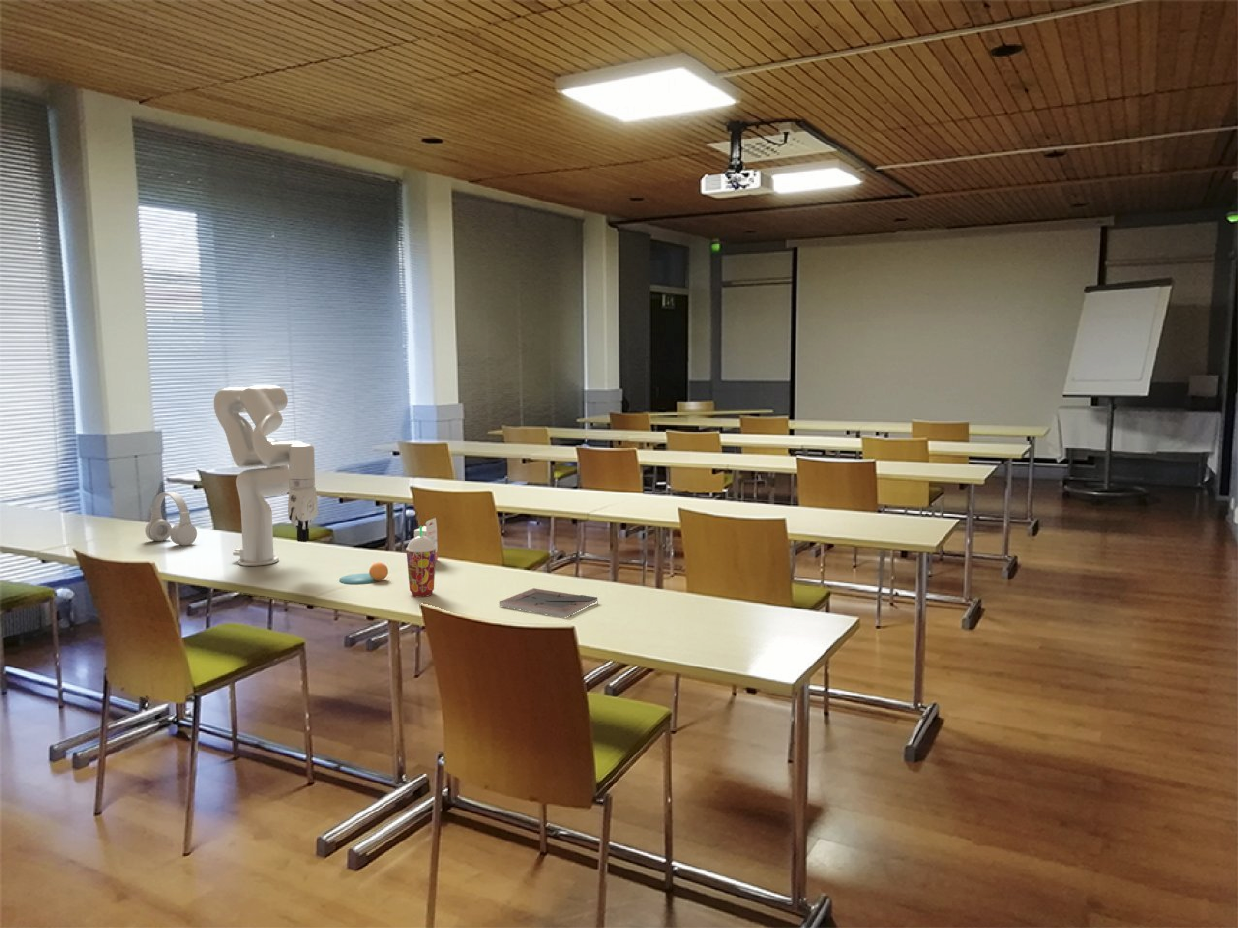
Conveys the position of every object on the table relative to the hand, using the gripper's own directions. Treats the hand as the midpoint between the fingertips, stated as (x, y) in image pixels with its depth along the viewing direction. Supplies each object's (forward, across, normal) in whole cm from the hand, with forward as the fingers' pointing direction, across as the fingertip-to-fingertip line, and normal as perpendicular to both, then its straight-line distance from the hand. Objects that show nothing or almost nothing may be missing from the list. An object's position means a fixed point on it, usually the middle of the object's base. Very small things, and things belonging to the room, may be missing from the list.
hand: (303, 541), depth 265 cm
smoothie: (+9, -14, -46) cm, 49 cm away
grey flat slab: (+9, -17, -85) cm, 87 cm away
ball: (+7, -1, -26) cm, 27 cm away
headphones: (+15, +35, +76) cm, 85 cm away
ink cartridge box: (+11, +25, -30) cm, 41 cm away
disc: (+10, -1, -20) cm, 23 cm away
